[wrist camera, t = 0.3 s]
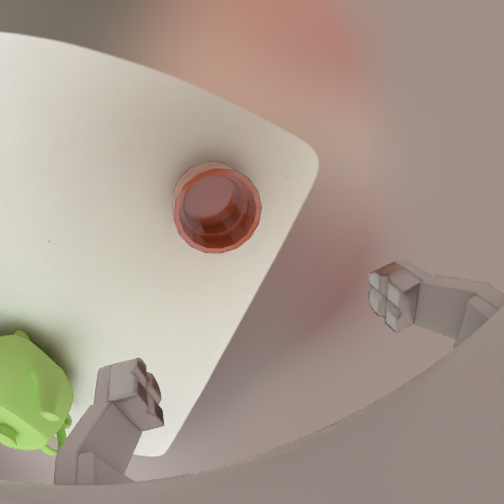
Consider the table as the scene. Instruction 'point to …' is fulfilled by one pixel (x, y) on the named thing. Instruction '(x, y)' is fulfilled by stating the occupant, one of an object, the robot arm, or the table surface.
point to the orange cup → (215, 207)
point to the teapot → (31, 396)
